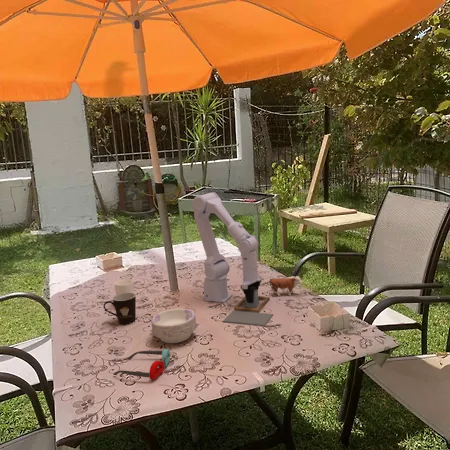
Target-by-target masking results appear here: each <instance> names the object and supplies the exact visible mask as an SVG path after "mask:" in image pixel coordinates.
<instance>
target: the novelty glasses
mask: <svg viewBox="0 0 450 450" xmlns="http://www.w3.org/2000/svg"><path fill="white" fill-rule="evenodd" d="M170 351H171V350H170V349H169V348H164V349H163V350H139V351H136V352H134V353H133V354H131V355H130V356H129V357H128V358H127V359H130V360H132V359H133V358H134V357H135V356H136V355H138V354H140V355H158V356H160V355H161V359H162V360H155V361H153V362H152V364H151V365H150V367H149V372H145V371H144V372H143V371H133V370H132V371H131V370H118V371H115V372H113V374H112V375H116V376H118V374H120V373H121V374H125V375H129V376H135V377H140V378H141V377H142V378H149V380H155V379H157V378H158V377H159V376H160V375H163V372H164V370H165V368H166V367H167V366H168V364H169V363H170V362H171V352H170Z"/></svg>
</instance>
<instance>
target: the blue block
mask: <svg viewBox="0 0 450 450" xmlns="http://www.w3.org/2000/svg"><path fill="white" fill-rule="evenodd" d="M258 296H259V288H258V289H255V290H254V297H253V303H247V300H246V297H245V296H244V297H245V301H246V302H245V308H257V306H259V305H260V303H259V302H260V301H259V299H258Z"/></svg>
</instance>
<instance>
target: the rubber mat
mask: <svg viewBox="0 0 450 450" xmlns="http://www.w3.org/2000/svg"><path fill="white" fill-rule="evenodd" d="M273 316H274V313H264V312H259V313H256V312H245V311H234V310H232V311H231V312H230V313H229V314H228V315H227V316H226V317H225V318H224V319H223V320H222V322H223V323H229V324H230V323H231V324H237V325H249V326H259V327H266V325H267V324H268V323H269V321H270V320H271V319H272V318H273Z"/></svg>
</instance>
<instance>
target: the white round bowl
mask: <svg viewBox="0 0 450 450" xmlns="http://www.w3.org/2000/svg"><path fill="white" fill-rule="evenodd" d="M150 323H151V329H152V334H153V336H155V337H156V338H159V339H160V340H161V341H162V342H163V343H166V344H179V343H182V342H184V341H186V340H188V339H190V337H191V336H192V333H193V332H195V331H196V330H197V326H198V325H197V318H196V313H195V311H194V310H191V309H188V308H172V309H167V310H163V311H161V312H157V313H155V315H153V317H152V318H151V320H150Z"/></svg>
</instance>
